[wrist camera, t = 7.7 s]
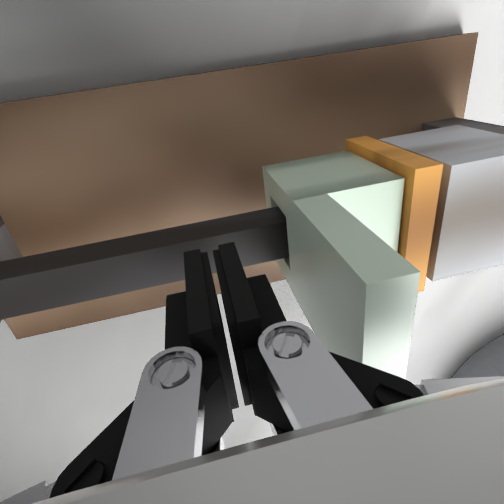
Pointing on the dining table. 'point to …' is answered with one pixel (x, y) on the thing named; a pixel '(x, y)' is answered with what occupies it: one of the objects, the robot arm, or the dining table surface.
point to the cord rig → (233, 175)
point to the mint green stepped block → (347, 255)
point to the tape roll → (484, 361)
